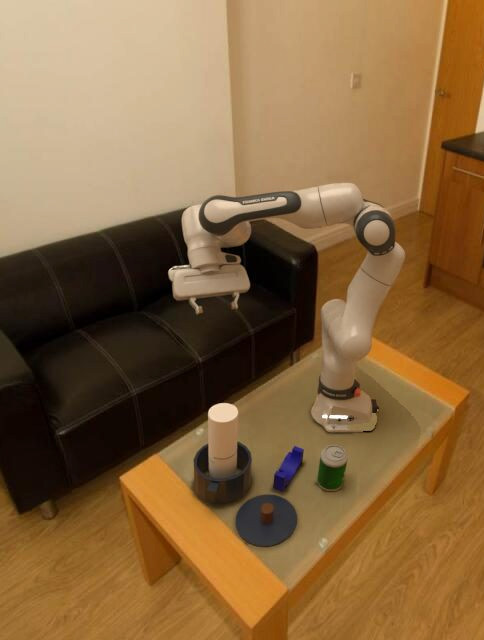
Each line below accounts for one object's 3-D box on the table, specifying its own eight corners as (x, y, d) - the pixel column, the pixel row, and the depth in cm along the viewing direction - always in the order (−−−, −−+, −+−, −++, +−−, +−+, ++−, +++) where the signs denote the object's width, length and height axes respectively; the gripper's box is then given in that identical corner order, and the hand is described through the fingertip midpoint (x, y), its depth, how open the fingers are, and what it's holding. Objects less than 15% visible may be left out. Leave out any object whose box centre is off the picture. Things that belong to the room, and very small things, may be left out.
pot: (257, 460, 144) (258, 436, 139) (240, 518, 126) (241, 492, 122) (207, 454, 143) (206, 429, 138) (182, 511, 126) (181, 485, 121)
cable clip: (288, 458, 146) (289, 444, 143) (302, 464, 145) (303, 449, 142) (268, 487, 136) (269, 472, 133) (282, 493, 135) (284, 478, 132)
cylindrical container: (229, 496, 131) (230, 425, 119) (204, 489, 132) (202, 418, 120) (240, 476, 137) (242, 407, 125) (216, 470, 138) (216, 400, 126)
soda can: (339, 496, 137) (345, 465, 131) (313, 490, 138) (317, 459, 132) (345, 476, 144) (350, 446, 138) (320, 470, 144) (324, 440, 138)
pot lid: (300, 500, 134) (302, 487, 131) (291, 551, 120) (293, 538, 118) (243, 493, 133) (244, 480, 131) (228, 544, 120) (228, 530, 117)
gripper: (168, 262, 127) (179, 313, 125) (245, 256, 138) (256, 303, 135) (165, 270, 132) (175, 320, 130) (239, 264, 143) (250, 309, 141)
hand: (217, 311), depth 133 cm, fingers open, 8 cm apart
